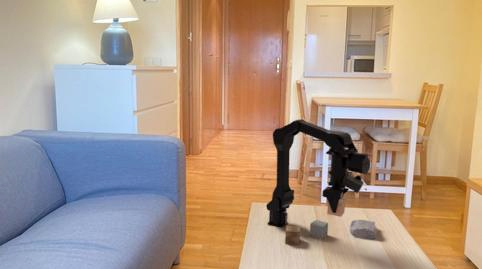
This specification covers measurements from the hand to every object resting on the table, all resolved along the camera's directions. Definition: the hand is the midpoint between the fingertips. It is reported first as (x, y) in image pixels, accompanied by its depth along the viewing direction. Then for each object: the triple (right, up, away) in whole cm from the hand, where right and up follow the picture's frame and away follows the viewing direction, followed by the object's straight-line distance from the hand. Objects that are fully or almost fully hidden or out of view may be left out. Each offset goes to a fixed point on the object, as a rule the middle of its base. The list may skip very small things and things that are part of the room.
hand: (335, 210), depth 147 cm
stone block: (+13, -12, +14) cm, 23 cm away
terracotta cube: (0, -1, 0) cm, 1 cm away
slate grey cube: (-4, -11, +10) cm, 16 cm away
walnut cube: (-15, -12, +4) cm, 20 cm away
